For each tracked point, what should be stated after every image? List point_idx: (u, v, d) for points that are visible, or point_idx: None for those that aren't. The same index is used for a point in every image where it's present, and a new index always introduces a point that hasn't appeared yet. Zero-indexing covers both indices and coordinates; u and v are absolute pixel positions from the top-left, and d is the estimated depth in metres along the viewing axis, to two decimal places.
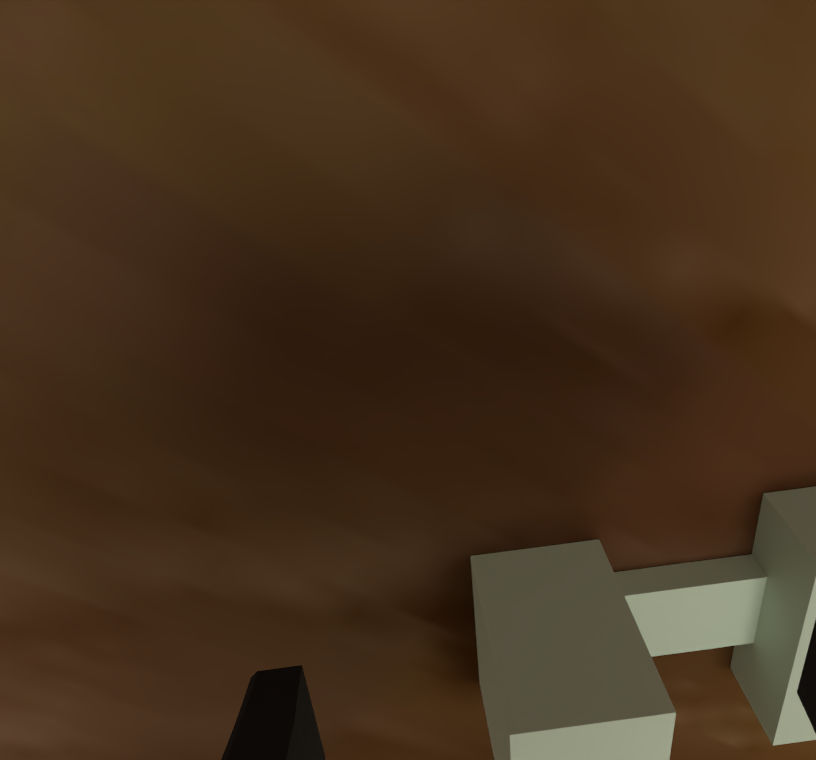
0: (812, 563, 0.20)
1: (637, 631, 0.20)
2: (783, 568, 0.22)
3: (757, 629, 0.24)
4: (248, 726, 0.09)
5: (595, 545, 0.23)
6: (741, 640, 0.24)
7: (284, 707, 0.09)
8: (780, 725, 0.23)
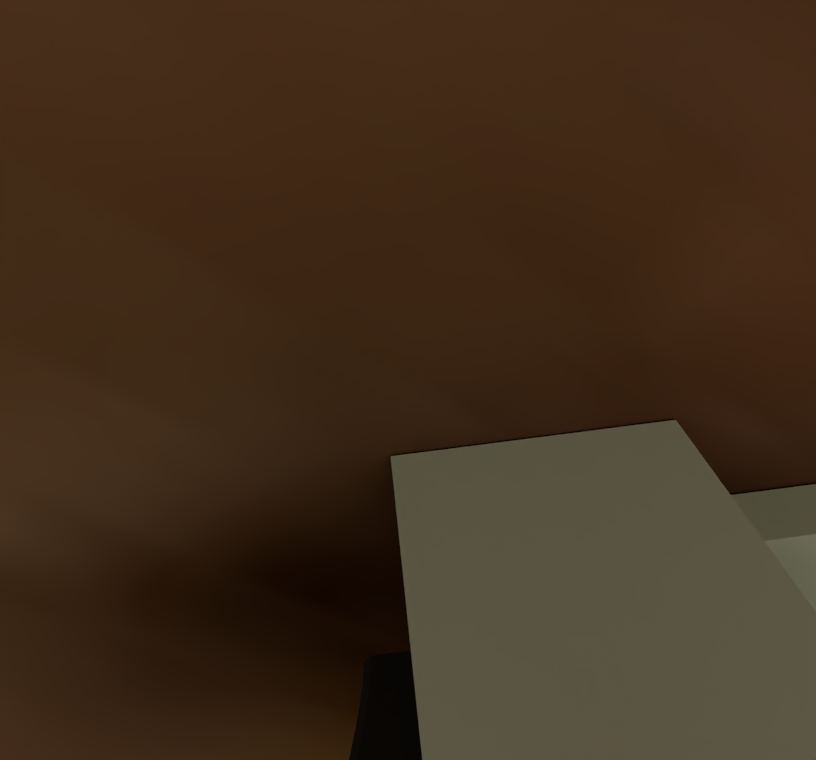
0: None
1: (813, 619, 0.07)
2: None
3: None
4: (375, 709, 0.09)
5: (669, 431, 0.10)
6: None
7: (408, 690, 0.09)
8: None
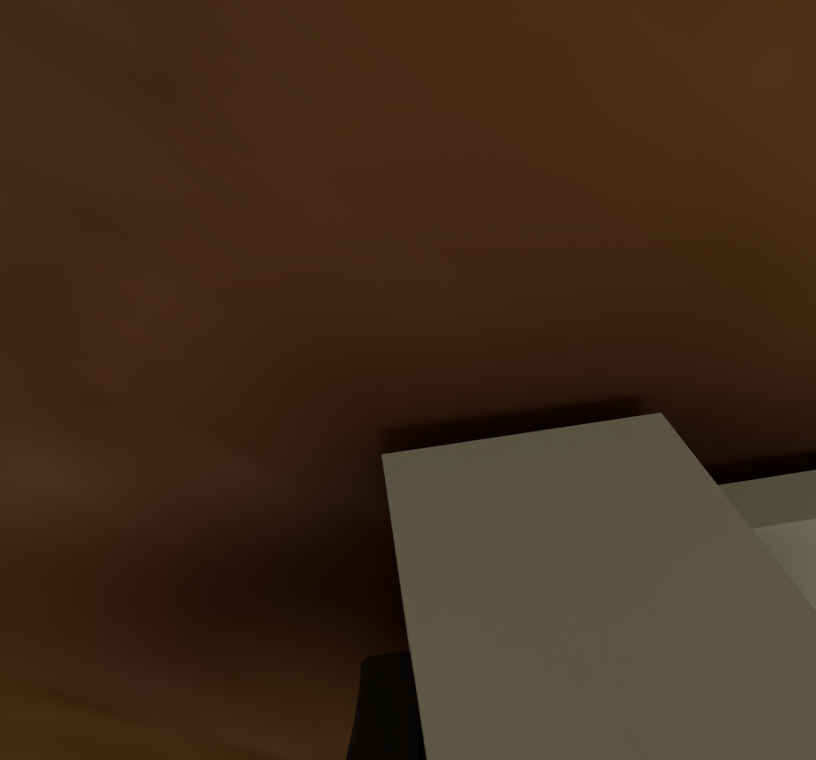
0: None
1: (801, 602, 0.07)
2: None
3: None
4: (373, 709, 0.09)
5: (655, 423, 0.10)
6: None
7: (405, 691, 0.09)
8: None
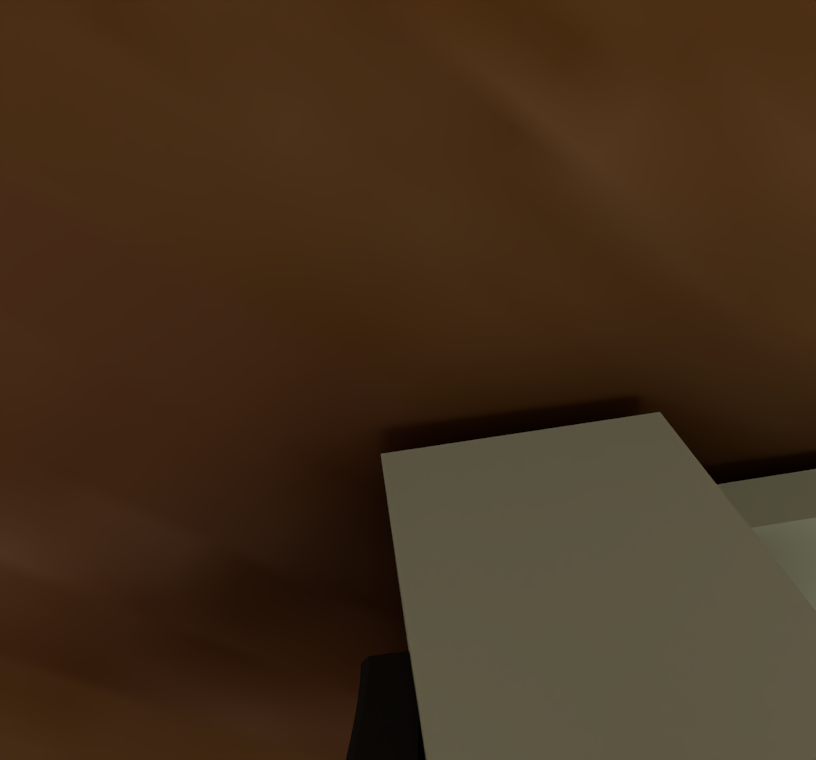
0: None
1: (800, 601, 0.07)
2: None
3: None
4: (372, 709, 0.09)
5: (654, 423, 0.10)
6: None
7: (405, 691, 0.09)
8: None
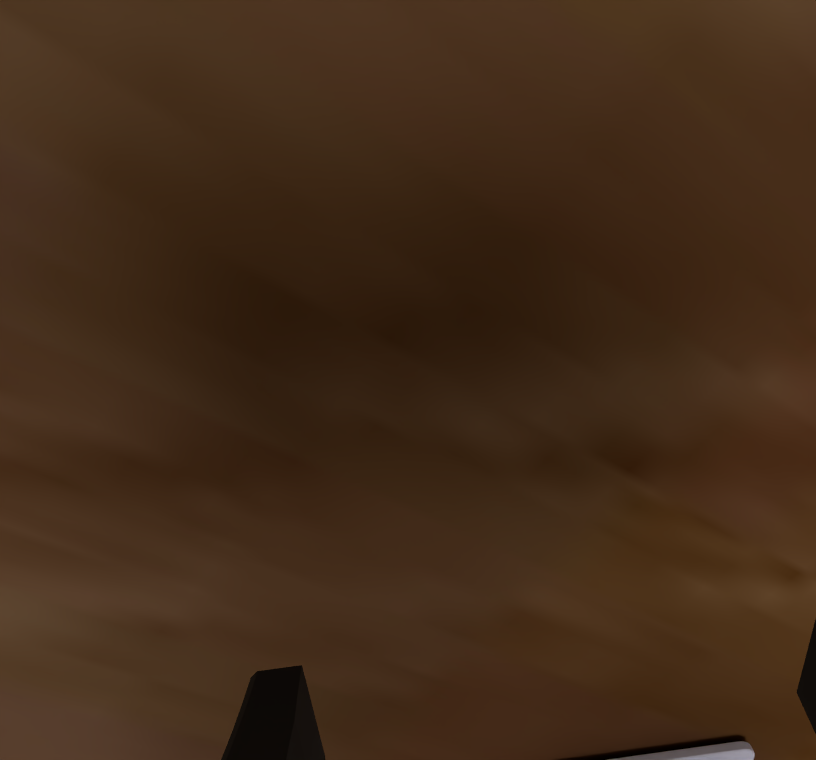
0: None
1: None
2: None
3: None
4: (248, 726, 0.09)
5: None
6: None
7: (284, 707, 0.09)
8: None
